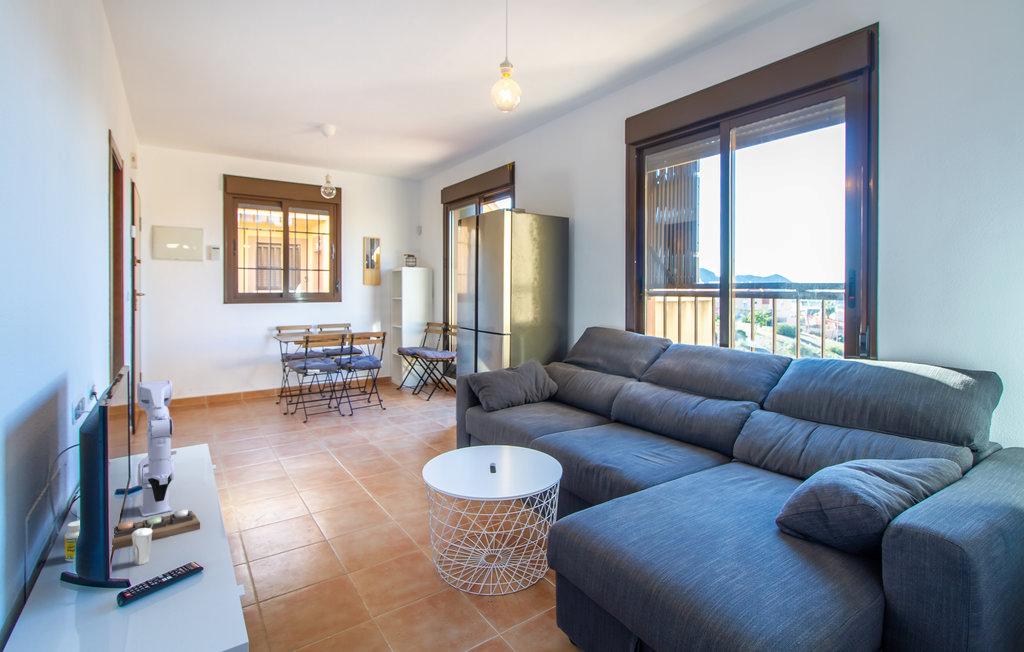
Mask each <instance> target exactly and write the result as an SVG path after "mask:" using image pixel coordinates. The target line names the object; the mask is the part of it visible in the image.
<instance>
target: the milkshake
mask: <svg viewBox="0 0 1024 652" xmlns="http://www.w3.org/2000/svg"><path fill="white" fill-rule="evenodd" d="M153 523H154V522H152V525H151V528H140V529H137V530H136V531H134V532H133V533H132V542H133V545H132V551H133V553H132V554H133V563H134V565H136V566H141V565H145V564H147V563H149V561H150V560H151V559H150V557H151V548H152V541H151V539H152V526H153Z"/></svg>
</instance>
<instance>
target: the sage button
mask: <svg viewBox="0 0 1024 652" xmlns="http://www.w3.org/2000/svg"><path fill="white" fill-rule="evenodd" d="M161 517H162V516H155V517H150V518H148V519H146V520H147V525H151V524H152V522H154V523H153V524H155V523H160V522H161Z"/></svg>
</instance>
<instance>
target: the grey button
mask: <svg viewBox="0 0 1024 652" xmlns="http://www.w3.org/2000/svg"><path fill="white" fill-rule="evenodd" d="M188 511H189V510H188V509H187V508H185V509H184V508H183V509H182V508H181V509H178V510H176V511H174V513H173V514H174V518H175V519H177V518H182V517H186V516H188Z"/></svg>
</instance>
